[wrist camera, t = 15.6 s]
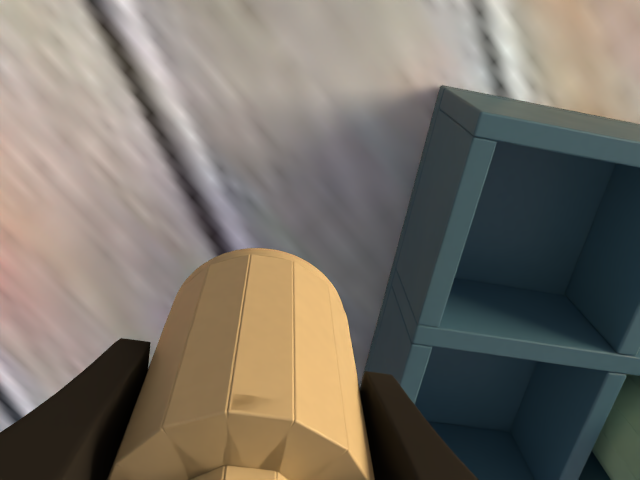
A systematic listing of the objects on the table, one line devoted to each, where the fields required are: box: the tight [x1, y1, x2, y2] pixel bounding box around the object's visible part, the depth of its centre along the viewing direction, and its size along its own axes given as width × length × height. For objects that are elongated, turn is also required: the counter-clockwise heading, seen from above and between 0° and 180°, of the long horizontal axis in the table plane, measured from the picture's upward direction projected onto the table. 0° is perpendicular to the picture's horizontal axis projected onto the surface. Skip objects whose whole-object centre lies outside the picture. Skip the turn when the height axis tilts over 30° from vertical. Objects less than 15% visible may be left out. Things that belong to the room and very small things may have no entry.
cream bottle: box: [107, 248, 375, 480], centre depth 12 cm, size 4×5×8 cm
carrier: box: [359, 86, 640, 480], centre depth 21 cm, size 14×14×5 cm
